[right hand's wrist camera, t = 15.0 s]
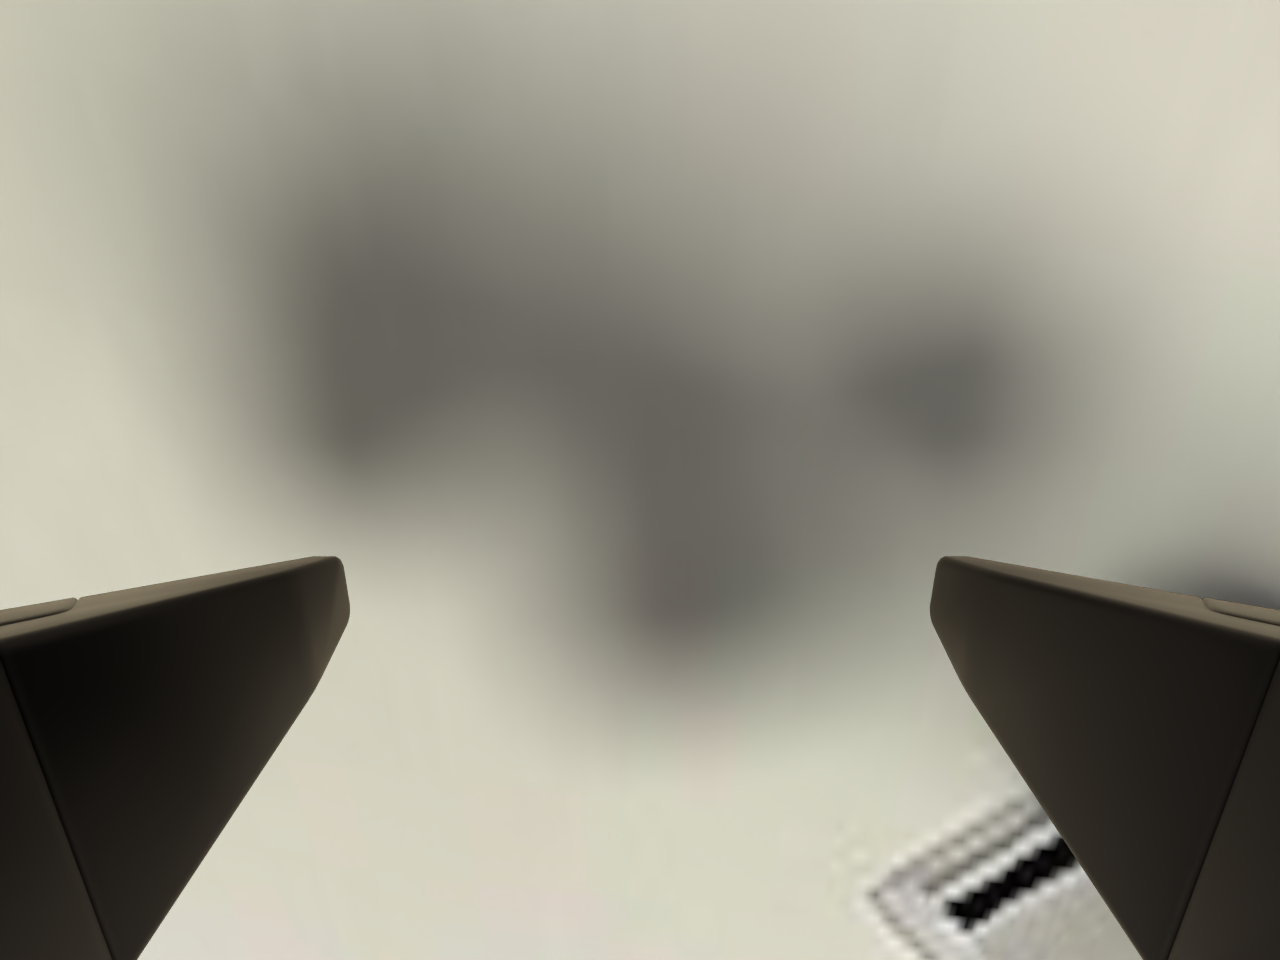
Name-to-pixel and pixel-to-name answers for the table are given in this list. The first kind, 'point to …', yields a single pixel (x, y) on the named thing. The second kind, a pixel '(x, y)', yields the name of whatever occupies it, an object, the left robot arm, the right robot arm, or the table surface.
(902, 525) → the table surface
